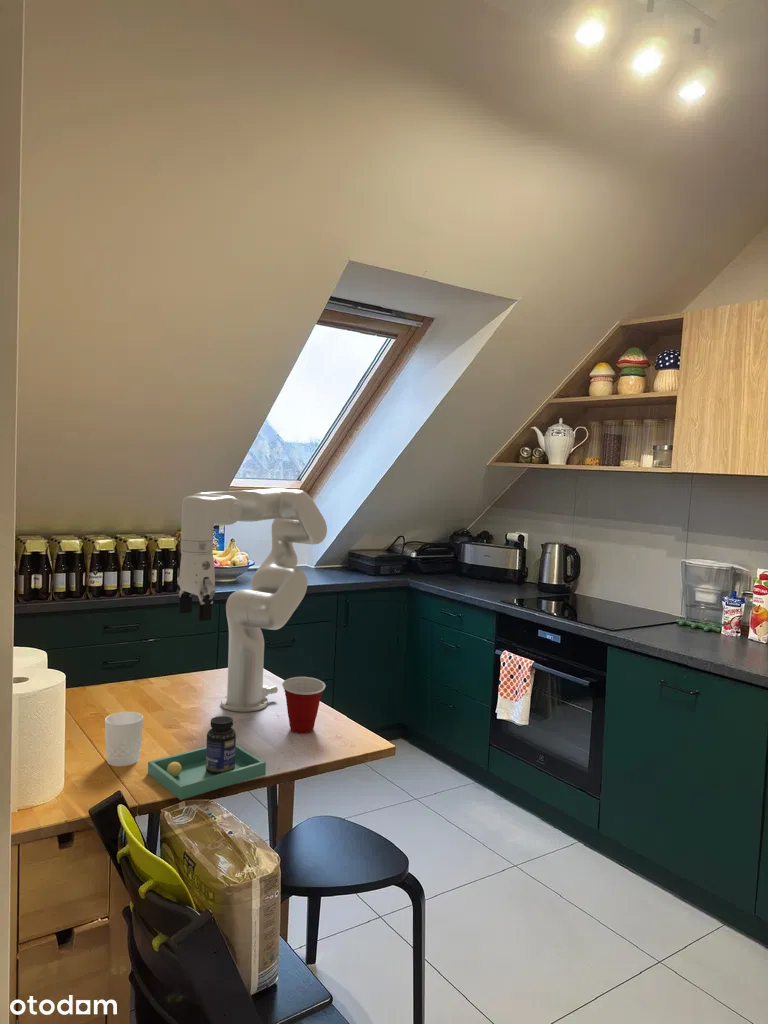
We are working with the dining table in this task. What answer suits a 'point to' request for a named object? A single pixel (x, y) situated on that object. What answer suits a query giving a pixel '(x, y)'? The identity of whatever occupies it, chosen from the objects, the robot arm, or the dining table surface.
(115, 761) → the white cup
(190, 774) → the tray
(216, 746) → the pill bottle
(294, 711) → the plastic cup
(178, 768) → the ball
